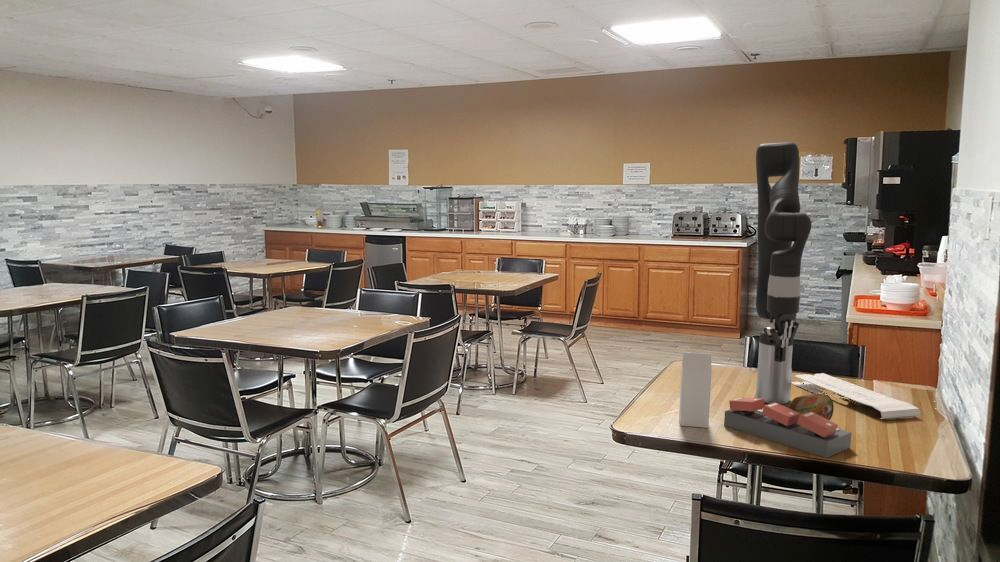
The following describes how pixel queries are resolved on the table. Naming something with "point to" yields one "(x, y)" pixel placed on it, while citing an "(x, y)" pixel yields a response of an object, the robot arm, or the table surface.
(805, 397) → the tin
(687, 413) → the milk carton
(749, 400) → the block
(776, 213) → the robot arm
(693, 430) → the table surface
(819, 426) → the rocker
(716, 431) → the table surface
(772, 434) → the power strip
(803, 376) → the white flat bar
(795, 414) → the block
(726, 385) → the table surface
